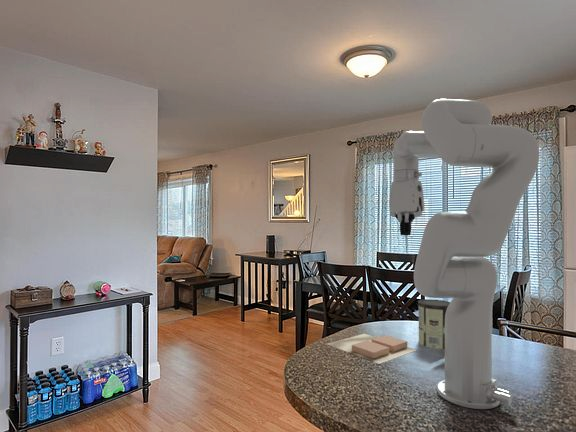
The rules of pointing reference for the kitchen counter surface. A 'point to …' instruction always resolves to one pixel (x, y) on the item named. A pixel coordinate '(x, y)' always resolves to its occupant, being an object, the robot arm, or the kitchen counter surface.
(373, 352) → the tile left
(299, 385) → the kitchen counter surface
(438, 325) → the coffee can
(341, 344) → the board
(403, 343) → the tile right
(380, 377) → the kitchen counter surface
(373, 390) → the kitchen counter surface
